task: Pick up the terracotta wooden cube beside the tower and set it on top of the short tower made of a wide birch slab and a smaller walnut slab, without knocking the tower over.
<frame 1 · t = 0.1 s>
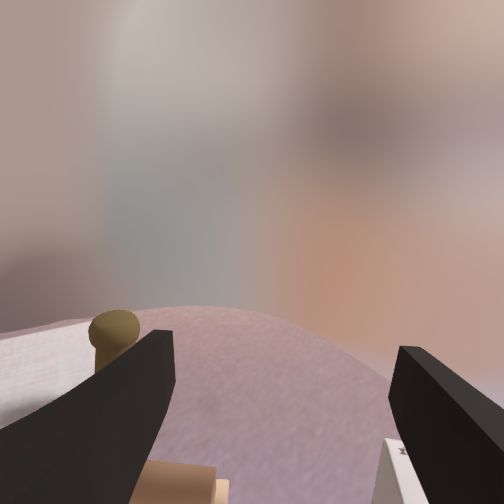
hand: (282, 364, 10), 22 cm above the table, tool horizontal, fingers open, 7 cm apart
olive game pawn: (121, 401, 38), on the table
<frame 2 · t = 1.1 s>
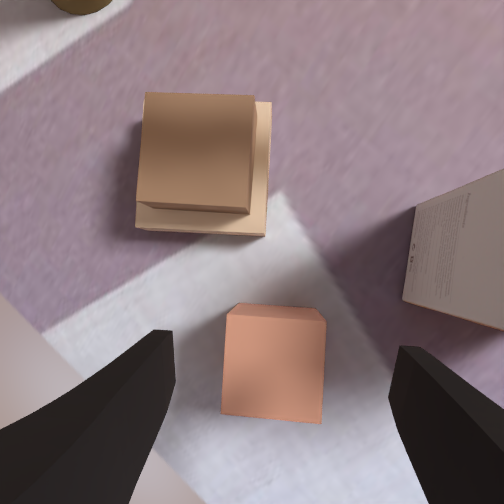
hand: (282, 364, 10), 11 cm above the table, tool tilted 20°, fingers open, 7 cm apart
terracotta cube: (274, 343, 21), on the table
birch base slab: (210, 176, 23), on the table, touching walnut top slab
small box: (471, 262, 21), on the table
walnut top slab: (205, 162, 20), point 2 cm above the table, touching birch base slab
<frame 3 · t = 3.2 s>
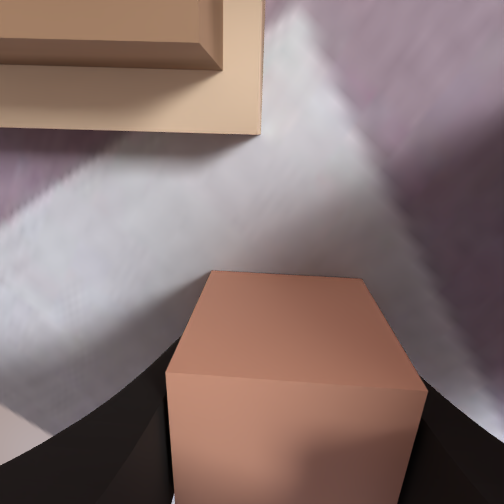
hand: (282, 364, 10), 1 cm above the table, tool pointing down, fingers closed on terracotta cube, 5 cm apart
terracotta cube: (281, 337, 12), on the table, touching gripper
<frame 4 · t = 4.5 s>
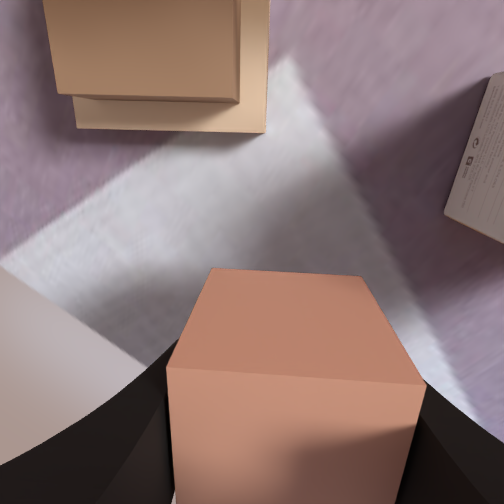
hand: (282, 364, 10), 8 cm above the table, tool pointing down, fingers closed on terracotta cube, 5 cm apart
terracotta cube: (281, 335, 12), point 6 cm above the table, touching gripper
birch base slab: (180, 35, 15), on the table, touching walnut top slab
walnut top slab: (161, 14, 12), point 2 cm above the table, touching birch base slab
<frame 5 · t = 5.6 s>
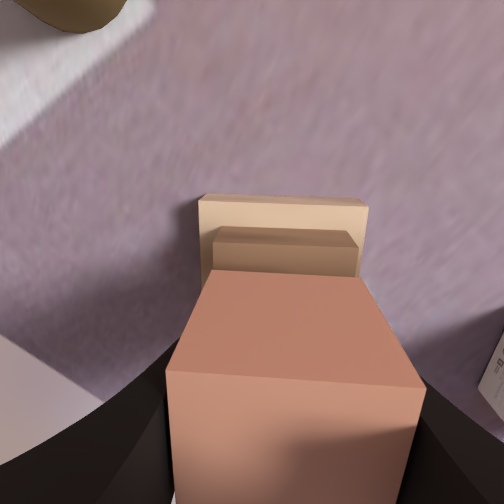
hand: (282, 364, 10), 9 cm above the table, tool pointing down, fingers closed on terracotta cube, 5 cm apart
terracotta cube: (281, 336, 12), point 7 cm above the table, touching gripper
birch base slab: (277, 262, 19), on the table, touching walnut top slab
walnut top slab: (280, 284, 17), point 2 cm above the table, touching birch base slab
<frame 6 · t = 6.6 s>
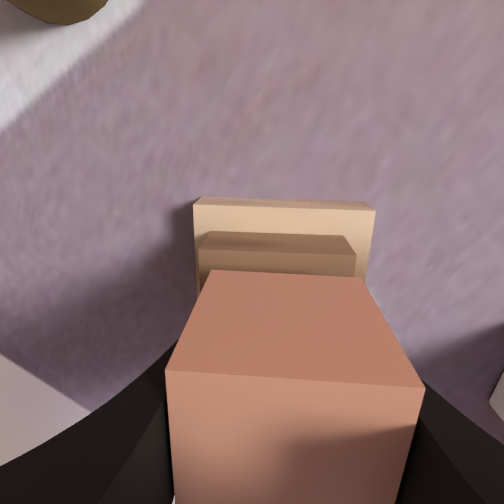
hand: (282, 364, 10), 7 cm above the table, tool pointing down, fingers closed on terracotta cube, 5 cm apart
terracotta cube: (280, 336, 12), point 6 cm above the table, touching gripper
birch base slab: (278, 269, 18), on the table
walnut top slab: (273, 292, 16), point 2 cm above the table
when the fingers open (7 cm above the table, at t = 6.7 s): terracotta cube drops 2 cm, resting on walnut top slab.
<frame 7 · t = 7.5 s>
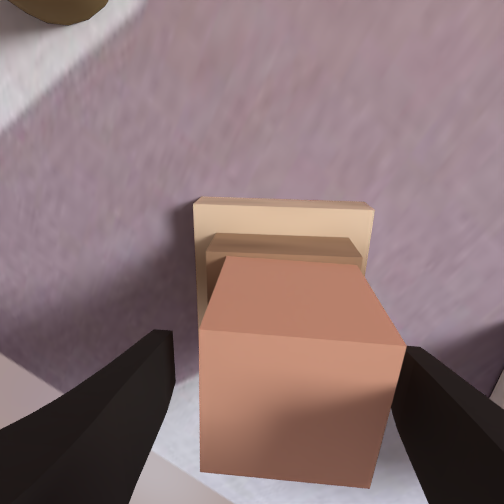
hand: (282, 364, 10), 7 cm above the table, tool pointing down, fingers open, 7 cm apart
terracotta cube: (285, 316, 13), point 4 cm above the table, touching walnut top slab
birch base slab: (277, 268, 18), on the table, touching walnut top slab
walnut top slab: (278, 294, 16), point 2 cm above the table, touching birch base slab, terracotta cube
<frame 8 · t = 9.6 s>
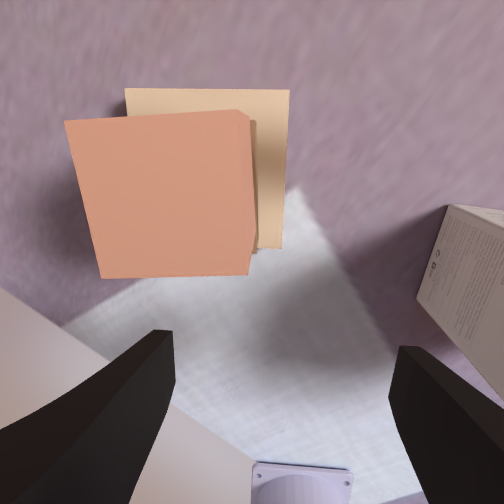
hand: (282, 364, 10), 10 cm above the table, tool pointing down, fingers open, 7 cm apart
terracotta cube: (197, 179, 15), point 4 cm above the table, touching walnut top slab
birch base slab: (216, 168, 19), on the table, touching walnut top slab
small box: (493, 261, 20), on the table
walnut top slab: (201, 184, 17), point 2 cm above the table, touching birch base slab, terracotta cube
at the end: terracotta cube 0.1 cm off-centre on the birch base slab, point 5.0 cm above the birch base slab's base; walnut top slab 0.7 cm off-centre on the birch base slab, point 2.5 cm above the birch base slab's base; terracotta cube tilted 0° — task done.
